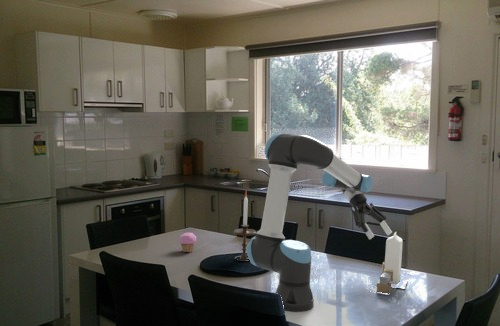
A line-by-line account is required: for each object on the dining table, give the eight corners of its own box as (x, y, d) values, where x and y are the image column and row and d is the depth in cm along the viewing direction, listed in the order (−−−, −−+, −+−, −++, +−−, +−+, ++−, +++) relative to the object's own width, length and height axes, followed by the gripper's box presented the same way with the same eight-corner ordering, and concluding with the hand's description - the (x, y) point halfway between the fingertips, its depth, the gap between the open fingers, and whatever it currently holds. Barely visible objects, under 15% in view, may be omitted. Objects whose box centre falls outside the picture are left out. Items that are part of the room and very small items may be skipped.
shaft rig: (403, 298, 195) (404, 279, 195) (372, 293, 200) (373, 274, 199) (409, 274, 227) (410, 257, 226) (382, 270, 231) (383, 254, 231)
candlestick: (252, 263, 235) (255, 191, 232) (230, 261, 238) (232, 190, 234) (256, 257, 246) (259, 188, 243) (235, 255, 248) (237, 187, 245)
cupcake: (197, 250, 256) (198, 231, 255) (194, 254, 247) (194, 235, 247) (181, 249, 257) (181, 230, 256) (176, 253, 248) (177, 234, 247)
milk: (383, 283, 212) (386, 233, 210) (386, 279, 218) (389, 230, 215) (398, 285, 209) (400, 234, 207) (400, 281, 215) (403, 232, 213)
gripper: (366, 199, 238) (391, 236, 228) (333, 204, 222) (358, 244, 212) (376, 190, 233) (402, 227, 223) (343, 194, 217) (369, 234, 207)
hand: (381, 235), depth 217 cm, fingers open, 13 cm apart
